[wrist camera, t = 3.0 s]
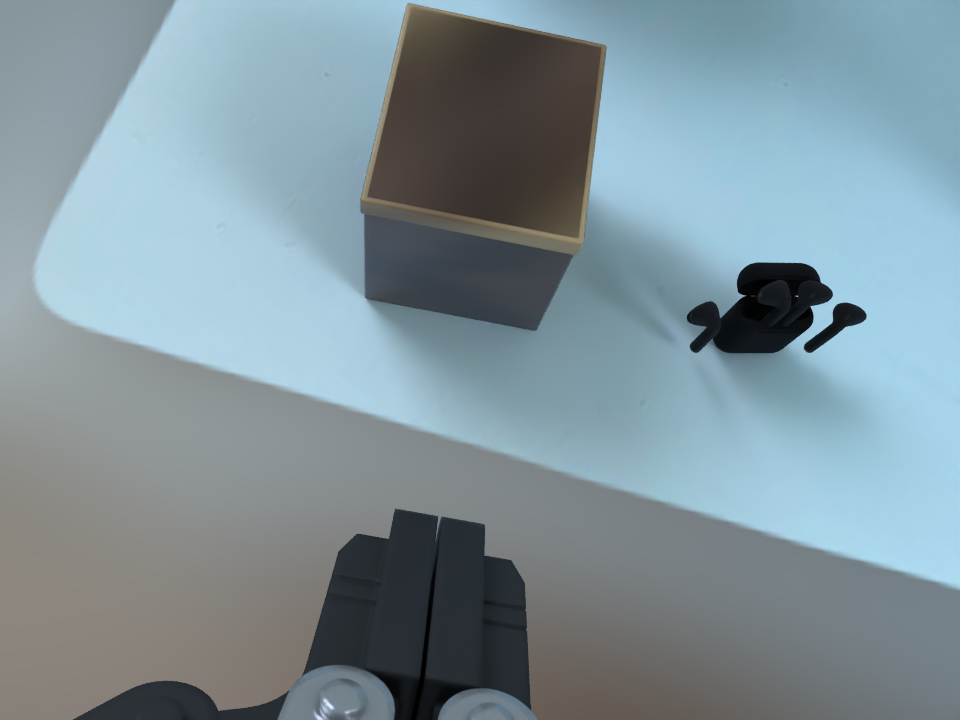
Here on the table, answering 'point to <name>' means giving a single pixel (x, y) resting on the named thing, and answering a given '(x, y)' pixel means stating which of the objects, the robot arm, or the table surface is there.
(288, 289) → the table surface
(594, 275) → the table surface
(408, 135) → the box
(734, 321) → the wireless earbuds
